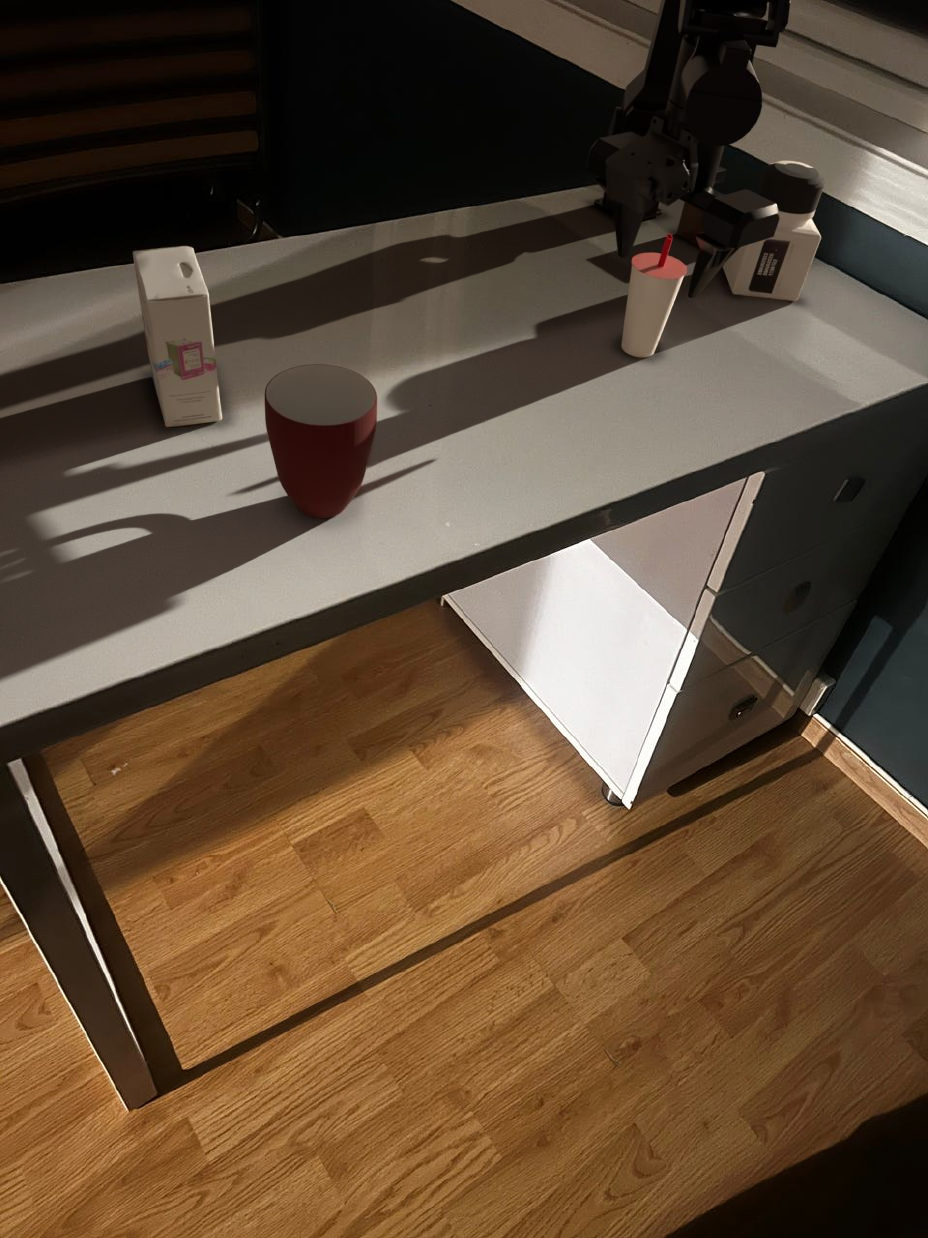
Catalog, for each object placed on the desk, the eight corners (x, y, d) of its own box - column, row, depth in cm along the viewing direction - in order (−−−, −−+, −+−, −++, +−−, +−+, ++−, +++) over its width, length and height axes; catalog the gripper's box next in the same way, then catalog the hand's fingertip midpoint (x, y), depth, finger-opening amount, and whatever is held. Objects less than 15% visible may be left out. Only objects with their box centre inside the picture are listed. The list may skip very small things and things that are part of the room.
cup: (672, 361, 98) (705, 245, 90) (624, 364, 97) (653, 247, 89) (650, 333, 102) (681, 220, 93) (603, 336, 101) (630, 221, 92)
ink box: (147, 374, 87) (130, 245, 79) (205, 368, 89) (193, 242, 80) (163, 429, 82) (145, 297, 73) (223, 422, 83) (213, 292, 75)
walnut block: (675, 233, 120) (684, 201, 118) (710, 223, 124) (719, 192, 121) (715, 255, 117) (725, 222, 114) (749, 244, 120) (760, 212, 118)
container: (798, 302, 111) (841, 186, 101) (731, 295, 110) (769, 178, 101) (783, 271, 116) (823, 158, 107) (720, 263, 116) (755, 150, 106)
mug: (227, 484, 77) (217, 374, 70) (303, 445, 82) (302, 338, 75) (318, 551, 73) (317, 440, 66) (393, 505, 78) (400, 398, 71)
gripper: (559, 78, 84) (531, 253, 95) (723, 158, 74) (671, 342, 85) (647, 64, 89) (611, 231, 100) (811, 137, 80) (751, 312, 91)
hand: (656, 276), depth 94 cm, fingers open, 9 cm apart
